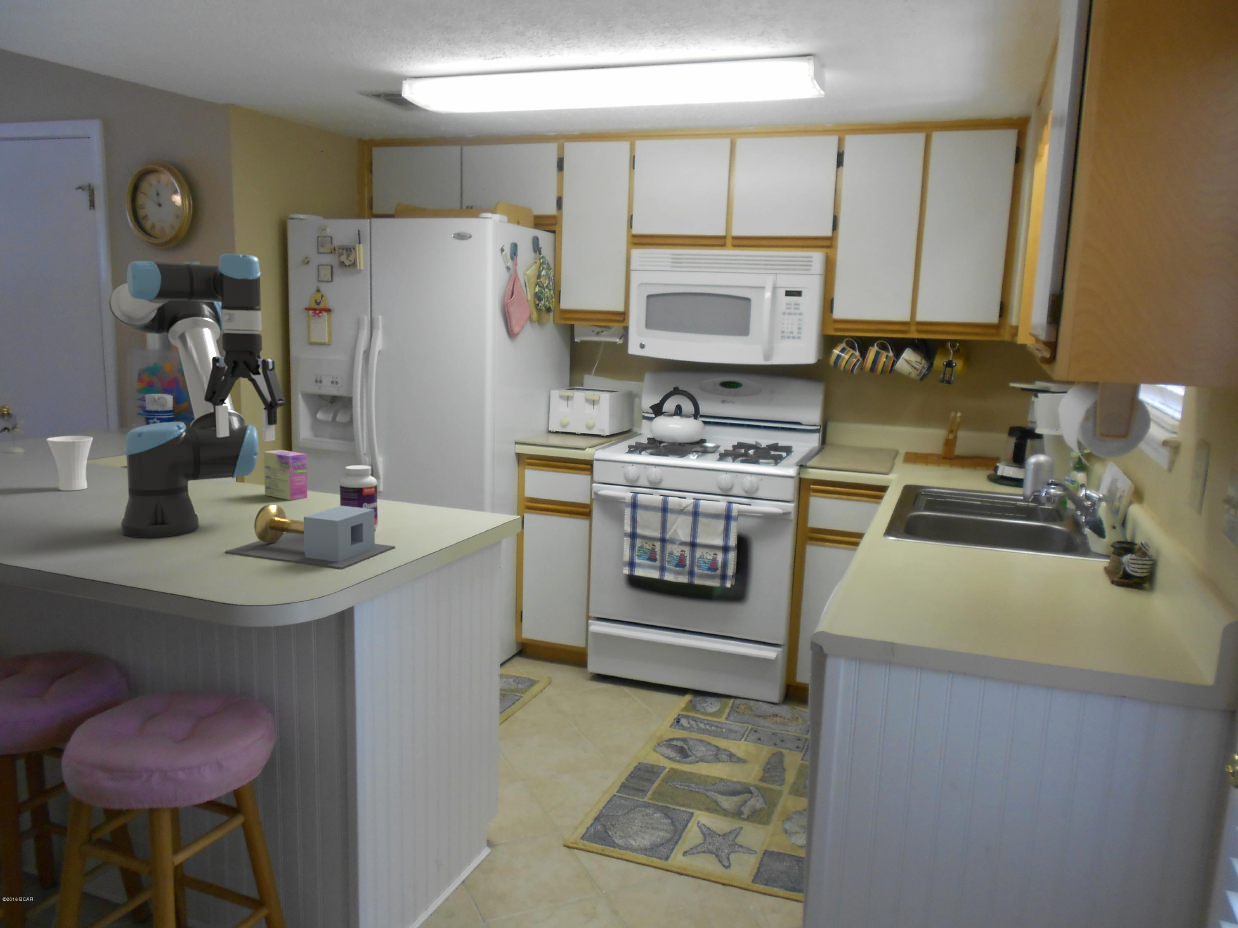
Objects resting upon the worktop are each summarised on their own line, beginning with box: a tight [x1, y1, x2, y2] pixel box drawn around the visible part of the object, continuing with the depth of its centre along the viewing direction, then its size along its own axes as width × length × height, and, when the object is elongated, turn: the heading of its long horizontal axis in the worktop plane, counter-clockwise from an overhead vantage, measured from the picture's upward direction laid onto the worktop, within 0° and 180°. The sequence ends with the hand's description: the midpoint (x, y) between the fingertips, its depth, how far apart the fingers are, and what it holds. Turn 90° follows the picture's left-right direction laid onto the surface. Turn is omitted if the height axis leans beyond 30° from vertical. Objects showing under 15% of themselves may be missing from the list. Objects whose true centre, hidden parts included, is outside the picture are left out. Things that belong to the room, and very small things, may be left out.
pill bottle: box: [339, 464, 379, 530], centre depth 201 cm, size 8×8×14 cm
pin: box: [253, 504, 304, 543], centre depth 184 cm, size 18×8×8 cm, turn 71°
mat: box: [224, 532, 396, 570], centre depth 184 cm, size 28×18×1 cm, turn 71°
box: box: [263, 449, 308, 501], centre depth 236 cm, size 10×6×12 cm, turn 58°
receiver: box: [303, 505, 376, 562], centre depth 181 cm, size 8×12×8 cm, turn 161°
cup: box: [46, 435, 94, 492], centre depth 238 cm, size 10×10×14 cm
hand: (245, 438), depth 186 cm, fingers open, 11 cm apart
